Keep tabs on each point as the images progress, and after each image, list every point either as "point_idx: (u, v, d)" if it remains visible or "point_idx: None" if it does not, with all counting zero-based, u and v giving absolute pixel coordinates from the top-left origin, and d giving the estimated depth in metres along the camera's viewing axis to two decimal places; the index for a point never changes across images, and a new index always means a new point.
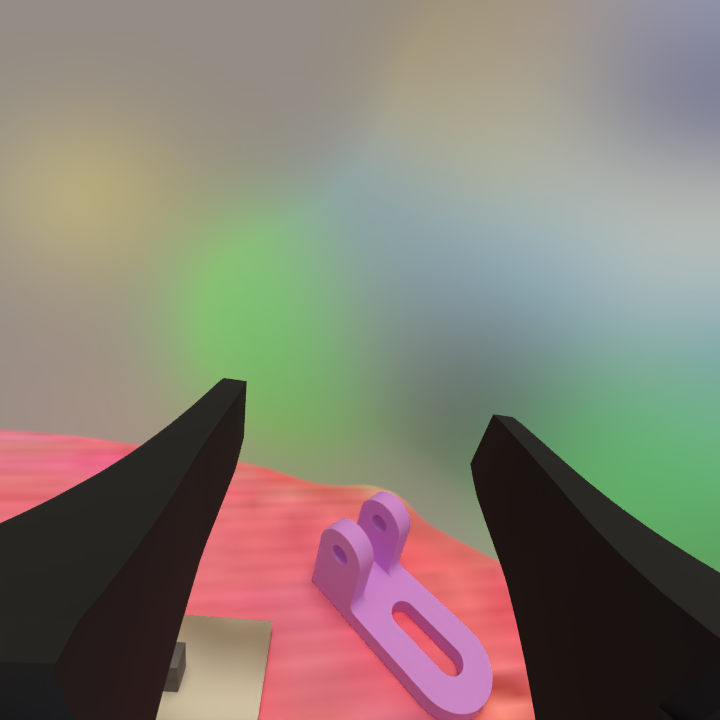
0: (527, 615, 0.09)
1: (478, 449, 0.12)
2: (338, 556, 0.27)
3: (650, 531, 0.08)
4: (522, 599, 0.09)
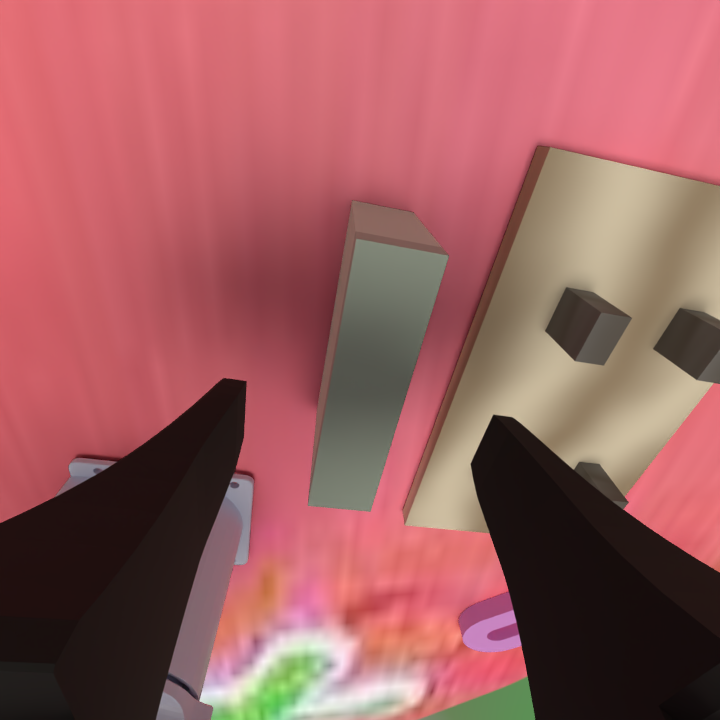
0: (527, 615, 0.09)
1: (478, 449, 0.12)
2: None
3: (650, 531, 0.08)
4: (522, 599, 0.09)
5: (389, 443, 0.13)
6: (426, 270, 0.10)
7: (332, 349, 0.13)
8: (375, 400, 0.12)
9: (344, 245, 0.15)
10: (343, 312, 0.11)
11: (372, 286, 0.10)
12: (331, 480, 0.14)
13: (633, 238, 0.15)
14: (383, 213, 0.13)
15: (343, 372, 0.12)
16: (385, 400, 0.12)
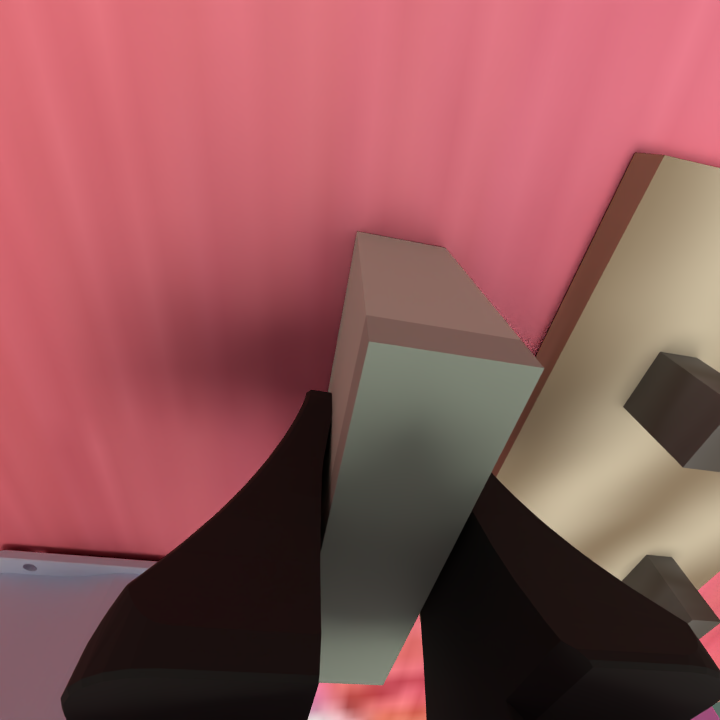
0: (427, 608, 0.08)
1: None
2: None
3: (539, 520, 0.07)
4: None
5: (415, 616, 0.08)
6: (499, 391, 0.05)
7: (327, 468, 0.09)
8: (394, 568, 0.07)
9: None
10: (343, 454, 0.06)
11: (397, 417, 0.06)
12: (326, 656, 0.09)
13: None
14: (405, 257, 0.09)
15: (343, 535, 0.07)
16: (411, 567, 0.08)
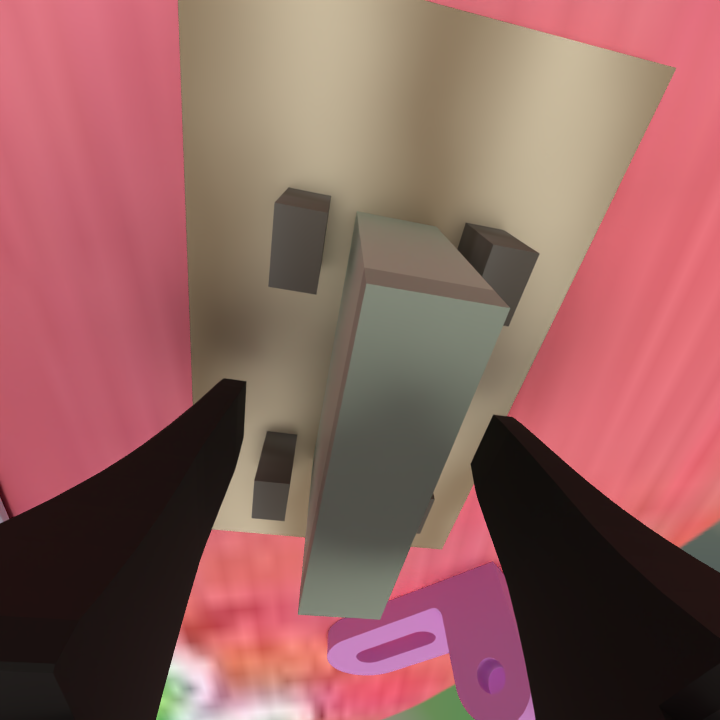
0: (527, 615, 0.09)
1: (478, 449, 0.12)
2: (493, 659, 0.19)
3: (650, 531, 0.08)
4: (522, 599, 0.09)
5: (408, 547, 0.10)
6: (473, 329, 0.07)
7: (330, 417, 0.10)
8: (389, 497, 0.09)
9: None
10: (345, 386, 0.07)
11: (390, 351, 0.07)
12: (329, 588, 0.10)
13: (362, 106, 0.10)
14: (400, 231, 0.10)
15: (345, 464, 0.08)
16: (404, 497, 0.09)
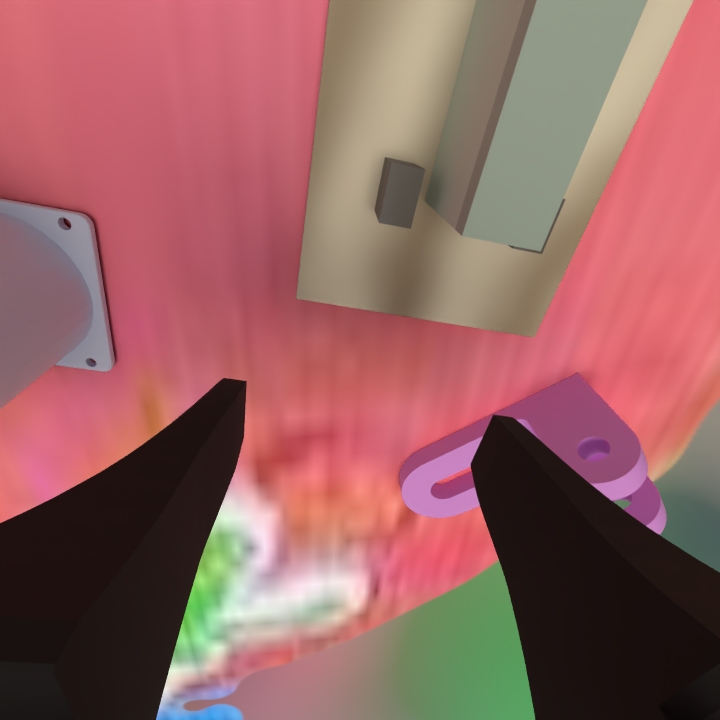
0: (527, 615, 0.09)
1: (478, 449, 0.12)
2: (592, 440, 0.19)
3: (650, 531, 0.08)
4: (522, 599, 0.09)
5: (599, 108, 0.09)
6: None
7: None
8: (601, 9, 0.09)
9: None
10: None
11: None
12: (503, 186, 0.10)
13: None
14: None
15: None
16: (615, 11, 0.09)
